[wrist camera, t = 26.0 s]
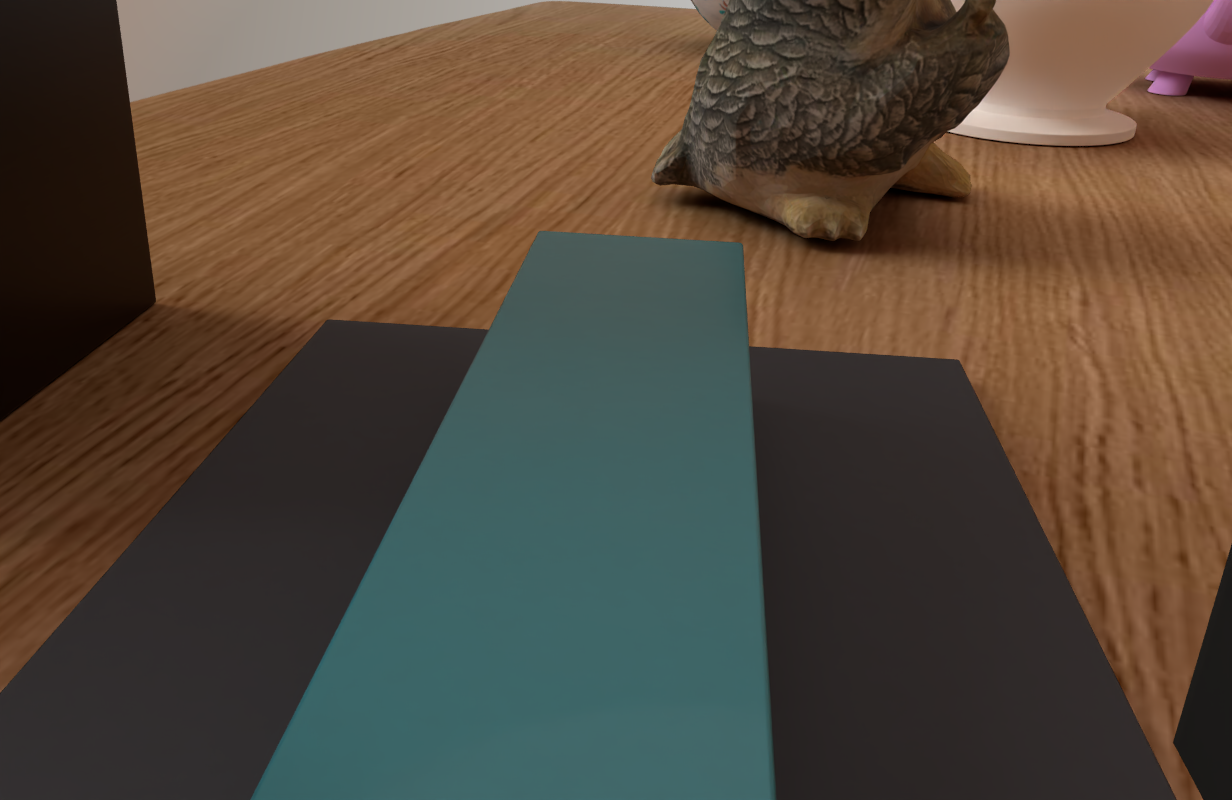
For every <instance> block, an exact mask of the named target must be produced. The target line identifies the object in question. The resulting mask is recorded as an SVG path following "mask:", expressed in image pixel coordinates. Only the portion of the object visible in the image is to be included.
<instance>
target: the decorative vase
mask: <svg viewBox="0 0 1232 800" xmlns="http://www.w3.org/2000/svg"><path fill="white" fill-rule="evenodd" d="M1213 1H1214V0H996V3H995V5H994V8H993V10H994V11H995V13H996V14H997V15H998V16H999V18H1000V19H1001V20H1002V22H1003V23H1004V24H1005V27H1006V30H1007V33H1008V41H1009V48H1010V56H1009V59H1008V62H1007V65H1006V66H1005V68H1004V70H1003V72H1002V73H1001V75H1000V77H999V78H998V80H997V81H996V83H995V84H994V85H993V87H992V88H991V89H990V91H989V92H988V93H987V95H986V96H985V97H984V98H983V99H982V101H981V102H980V104H979V105H978V106H977V107H976V108H975V109H973V110H972V111H971V112H970V113H969V114H968V116H967V117H966V118H965V119H964V120H963V122H962V123H961V124H959V125H958V126H957V127H956V128H954V129H951V130H949V131H948V132H952V133H956V134H961V135H966V136H971V137H977V138H983V139H990V140H997V141H1005V142H1014V143H1025V144H1037V145H1056V146H1093V145H1107V144H1114V143H1120V142H1124V141H1127V140H1130V139H1131V138H1133V137H1134V135H1135V131H1136V126H1137V124H1136V122H1135V121H1134V120H1133V119H1131V118H1130V117H1128V116H1126V115H1123V114H1121V113H1118V112H1115V111H1112V110H1109V109H1106V104H1107V103H1108V102H1110V101H1111V100H1112V99H1113V98H1115V97H1116V96H1117V95H1118V94H1120V93H1121V92H1122V91H1123V90H1124V89H1125V88H1127V87H1128V86H1129V85H1130V84H1131V83H1132V82H1133V81H1135V80H1136V79H1137V78H1138V77H1139V76H1140V75H1141V74H1142V73H1144V72H1145V71H1146V70H1147V69H1148V68H1149V67H1150V66H1151V65H1153V64H1154V63H1155V62H1156V61H1157V60H1158V59H1159V58H1160V57H1162V56H1163V55H1164V54H1165V53H1166V52H1167V51H1168V50H1169V49H1170V48H1171V47H1172V46H1173V45H1174V44H1176V43H1177V42H1178V41H1179V40H1180V39H1181V38H1182V37H1183V36H1184V35H1185V34H1186V33H1187V32H1188V31H1189V30H1190V29H1191V28H1192V27H1193V26H1194V25H1195V23H1196V22H1197V21H1198V20H1199V19H1200V18H1201V17H1202V16H1203V14H1204V13H1205V12H1206V11H1207V9H1208V8H1209V7H1210V5H1211V4H1212V2H1213ZM951 2H952V4H953V6H954V8H955V10H956V12H957V11H958V10H959V9H960V8H961V7H962V5H963V4H964V2H965V0H951Z"/></svg>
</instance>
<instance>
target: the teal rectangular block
mask: <svg viewBox="0 0 1232 800" xmlns="http://www.w3.org/2000/svg"><path fill="white" fill-rule="evenodd" d="M250 800H777V799H776V782H775V766H774V749H773V733H772V716H771V700H770V683H769V667H768V650H767V634H766V617H765V601H764V584H763V568H762V551H761V535H760V518H759V502H758V485H757V469H756V452H755V436H754V420H753V403H752V387H751V370H750V354H749V337H748V321H747V304H746V288H745V271H744V255H743V245H742V244H741V243H735V242H718V241H702V240H685V239H668V238H651V237H634V236H617V235H601V234H584V233H567V232H550V231H539V232H538V234H537V236H536V238H535V240H534V242H533V244H532V246H531V248H530V250H529V252H528V254H527V256H526V258H525V260H524V262H523V264H522V266H521V268H520V269H519V271H518V273H517V275H516V277H515V279H514V281H513V283H512V285H511V287H510V289H509V291H508V293H507V295H506V297H505V299H504V301H503V303H502V305H501V307H500V309H499V311H498V313H497V315H496V317H495V319H494V321H493V323H492V325H491V327H490V329H489V331H488V333H487V335H486V336H485V338H484V340H483V342H482V344H481V346H480V348H479V350H478V352H477V354H476V356H475V358H474V360H473V362H472V364H471V366H470V368H469V370H468V372H467V374H466V376H465V378H464V380H463V382H462V384H461V386H460V388H459V390H458V392H457V394H456V396H455V398H454V400H453V401H452V403H451V405H450V407H449V409H448V411H447V413H446V415H445V417H444V419H443V421H442V423H441V425H440V427H439V429H438V431H437V433H436V435H435V437H434V439H433V441H432V443H431V445H430V447H429V449H428V451H427V453H426V455H425V457H424V459H423V461H422V463H421V465H420V467H419V468H418V470H417V472H416V474H415V476H414V478H413V480H412V482H411V484H410V486H409V488H408V490H407V492H406V494H405V496H404V498H403V500H402V502H401V504H400V506H399V508H398V510H397V512H396V514H395V516H394V518H393V520H392V522H391V524H390V526H389V528H388V530H387V532H386V533H385V535H384V537H383V539H382V541H381V543H380V545H379V547H378V549H377V551H376V553H375V555H374V557H373V559H372V561H371V563H370V565H369V567H368V569H367V571H366V573H365V575H364V577H363V579H362V581H361V583H360V585H359V587H358V589H357V591H356V593H355V595H354V597H353V599H352V600H351V602H350V604H349V606H348V608H347V610H346V612H345V614H344V616H343V618H342V620H341V622H340V624H339V626H338V628H337V630H336V632H335V634H334V636H333V638H332V640H331V642H330V644H329V646H328V648H327V650H326V652H325V654H324V656H323V658H322V660H321V662H320V664H319V665H318V667H317V669H316V671H315V673H314V675H313V677H312V679H311V681H310V683H309V685H308V687H307V689H306V691H305V693H304V695H303V697H302V699H301V701H300V703H299V705H298V707H297V709H296V711H295V713H294V715H293V717H292V719H291V721H290V723H289V725H288V727H287V729H286V731H285V732H284V734H283V736H282V738H281V740H280V742H279V744H278V746H277V748H276V750H275V752H274V754H273V756H272V758H271V760H270V762H269V764H268V766H267V768H266V770H265V772H264V774H263V776H262V778H261V780H260V782H259V784H258V786H257V788H256V790H255V792H254V794H253V796H252V797H251V799H250Z"/></svg>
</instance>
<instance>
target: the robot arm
mask: <svg viewBox="0 0 1232 800" xmlns="http://www.w3.org/2000/svg"><path fill="white" fill-rule="evenodd" d="M1173 743H1174V745H1175V747H1176V749H1177V751H1178V752H1179V754H1180V756H1181V758H1182V760H1183V762H1184V764H1185V766H1186V767H1187V769H1188V771H1189V773H1190V775H1191V777H1192V779H1193V781H1194V783H1195V784H1196V786H1197V788H1198V790H1199V792H1200V794H1201V796H1202V798H1203V799H1204V800H1232V545H1231V548H1230V552H1229V555H1228V559H1227V562H1226V565H1225V569H1224V572H1223V575H1222V579H1221V582H1220V586H1219V589H1218V592H1217V596H1216V599H1215V603H1214V606H1213V609H1212V613H1211V616H1210V619H1209V623H1208V626H1207V630H1206V633H1205V636H1204V640H1203V643H1202V646H1201V650H1200V653H1199V657H1198V660H1197V663H1196V667H1195V670H1194V673H1193V677H1192V680H1191V684H1190V687H1189V690H1188V694H1187V697H1186V701H1185V704H1184V707H1183V711H1182V714H1181V717H1180V721H1179V724H1178V728H1177V731H1176V734H1175V738H1174V741H1173Z"/></svg>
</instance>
